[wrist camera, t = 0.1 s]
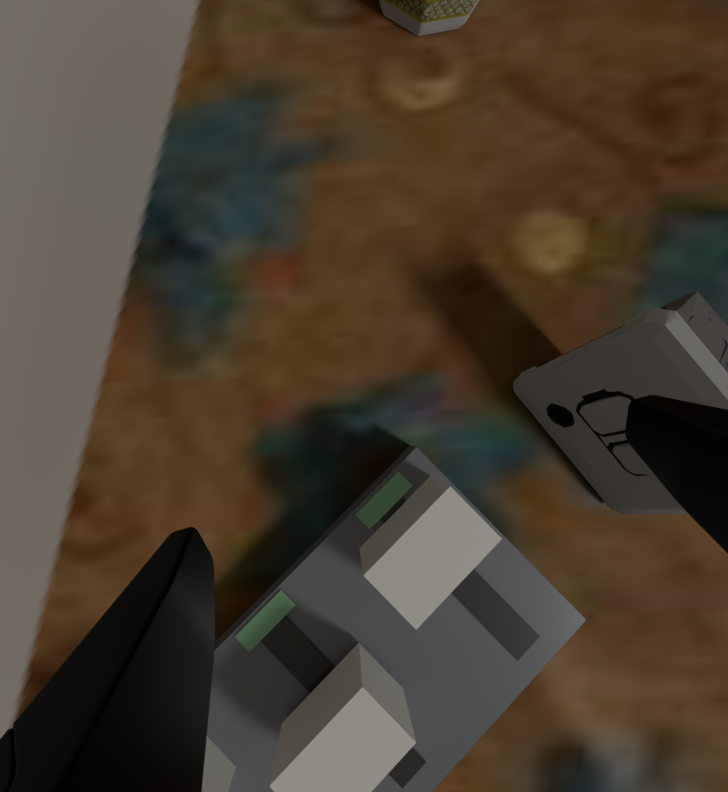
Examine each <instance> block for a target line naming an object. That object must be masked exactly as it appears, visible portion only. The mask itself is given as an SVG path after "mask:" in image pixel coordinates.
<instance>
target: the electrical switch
mask: <svg viewBox="0 0 728 792" xmlns="http://www.w3.org/2000/svg"><path fill="white" fill-rule="evenodd" d="M692 293H693V292H691V293H689V294H687V295H685V296H683V297H681V298H679V299H677V300H675V301H673V302H671V303H669V304H667V305H665V306H663V307H660V308H652V309H650V310H648V311H646V312H644V313H642V314H640V315H638V316H636V317H634V318H632V319H630V320H628V321H626V322H625V325H623V326H621V327H619V328H617V329H615V330H613V331H611V332H609V333H607V334H605V335H603V336H601V337H599V338H597V339H595V340H592V341H590V342H588V343H586V344H584V345H582V346H580V347H578V348H576V349H574V350H572V351H570V352H568V353H566V354H564V355H563V356H561V357H559V358H557V359H555V360H552V361H550V362H548V363H546V364H544V365H542V366H540V367H538V368H537V367H536V366H534V367H532V368H530V369H528V370H526V371H524V372H522V373H521V374H520V375H519V376H518V378H517V379H516V380H515V381H514V383H513V390H514V392H515V394H516V395H517V396H518V398H519V399H520V400H521V401H522V402H523V404H524V405H525V406H526V407H527V409H528V410H529V411H530V412H531V413H532V415H533V416H534V417H535V418H536V419H537V421H538V422H539V423H540V424H541V425H542V427H543V428H544V429H545V430H546V431H547V433H548V434H549V435H550V436H551V438H552V439H553V440H554V441H555V442H556V444H557V445H558V446H559V447H560V448H561V450H562V451H563V452H564V453H565V454H566V456H567V457H568V458H569V459H570V460H571V462H572V463H573V464H574V465H575V467H576V468H577V469H578V470H579V471H580V473H581V474H582V475H583V476H584V477H585V479H586V480H587V481H588V482H589V483H590V485H591V486H592V487H593V488H594V489H595V491H596V492H597V493H598V494H599V495H600V497H601V498H602V499H603V500H604V502H605V503H606V504H607V505H608V506H609V507H610V508H611V509H613V510H615V511H618V512H620V513H622V514H688V513H687V512H686V511H685V510H684V509H683V508H682V507H681V506H680V504H679V503H678V502H677V501H676V500H675V499H674V498H673V497H672V495H671V494H670V493H669V492H668V491H667V490H666V488H665V487H664V486H663V485H662V483H661V482H660V481H659V480H658V479H657V477H656V476H655V475H654V474H653V473H652V471H651V470H650V469H649V468H648V466H647V465H646V464H645V463H644V462H643V460H642V459H641V458H640V457H639V456H638V454H637V453H636V452H635V451H634V449H633V448H632V447H631V446H630V444H629V443H628V441H627V439H626V435H625V429H626V421H627V413H628V406H629V404H630V402H631V401H632V400H634V399H636V398H640V397H643V396H647V395H657V396H662V397H667V398H672V399H677V400H682V401H687V402H692V403H697V404H702V405H707V406H712V407H717V408H722V409H727V410H728V367H727V369H726V370H725V369H724V368H725V367H726V365H727V363H728V327H727V326H726V324H725V323H724V322H723V321H722V320H721V318H720V317H719V316H718V315H717V314H716V313H715V311H714V310H713V309H712V308H711V307H710V305H709V304H708V303H707V302H706V301H705V300H704V298H703V297H702V296H701V295H700V294H699V292H698V291H697V292H695V293H694V294H693V295H692V296H691V297H690V295H691V294H692ZM689 297H690V298H689ZM688 298H689V299H688ZM687 299H688V300H687ZM686 300H687V302H686ZM685 302H686V303H685ZM684 303H685V304H684ZM683 304H684V305H683ZM707 318H710V319H711V321H710V320H709V319H707Z"/></svg>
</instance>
